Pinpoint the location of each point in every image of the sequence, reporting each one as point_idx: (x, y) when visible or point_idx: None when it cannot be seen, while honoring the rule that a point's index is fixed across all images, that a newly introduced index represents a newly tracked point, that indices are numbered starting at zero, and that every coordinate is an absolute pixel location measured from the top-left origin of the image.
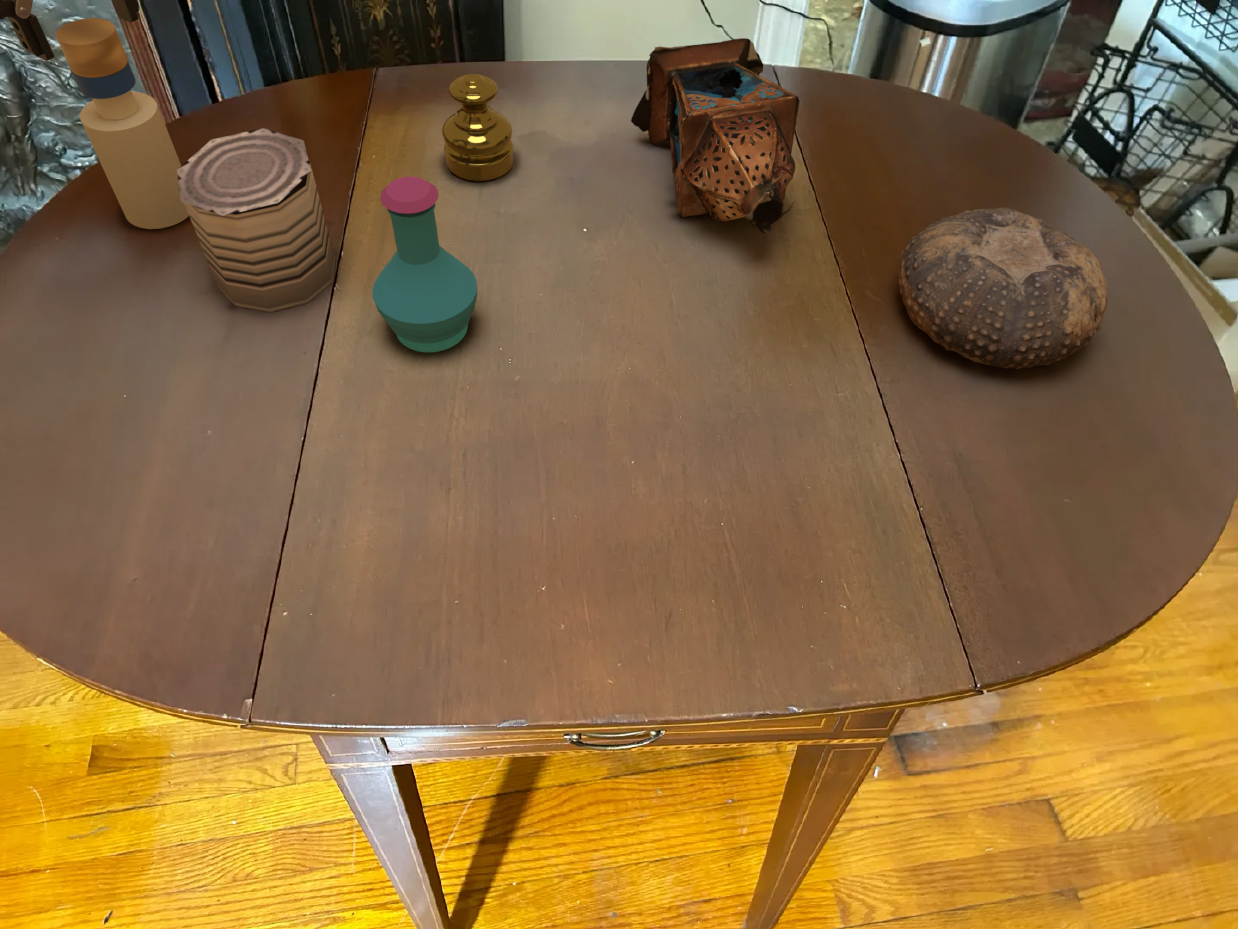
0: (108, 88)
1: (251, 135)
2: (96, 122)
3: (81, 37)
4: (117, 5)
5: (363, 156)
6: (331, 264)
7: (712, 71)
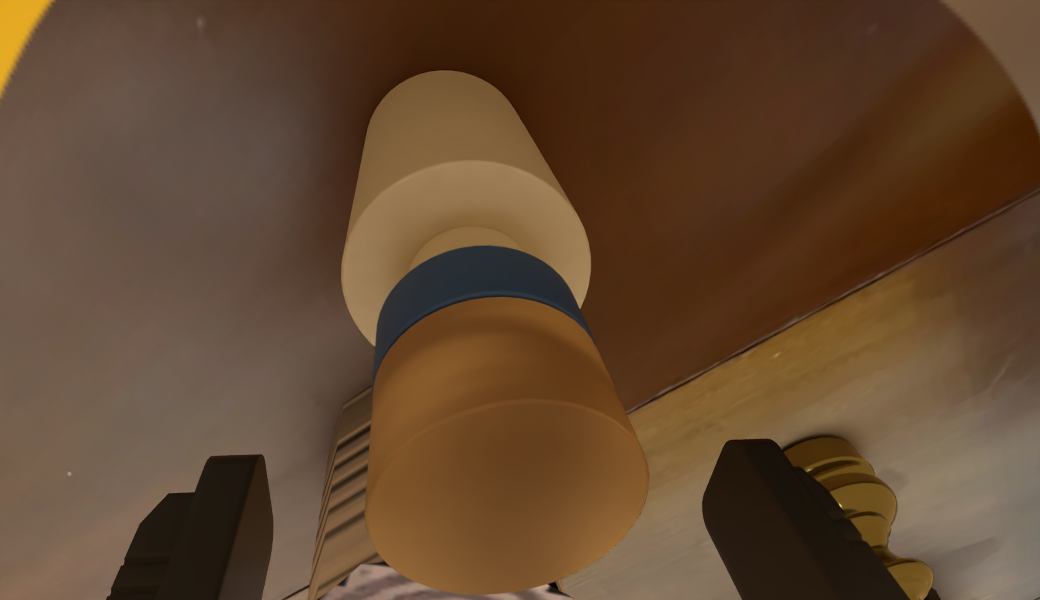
0: None
1: (542, 596)
2: (376, 282)
3: (453, 542)
4: (750, 508)
5: (772, 341)
6: None
7: None
